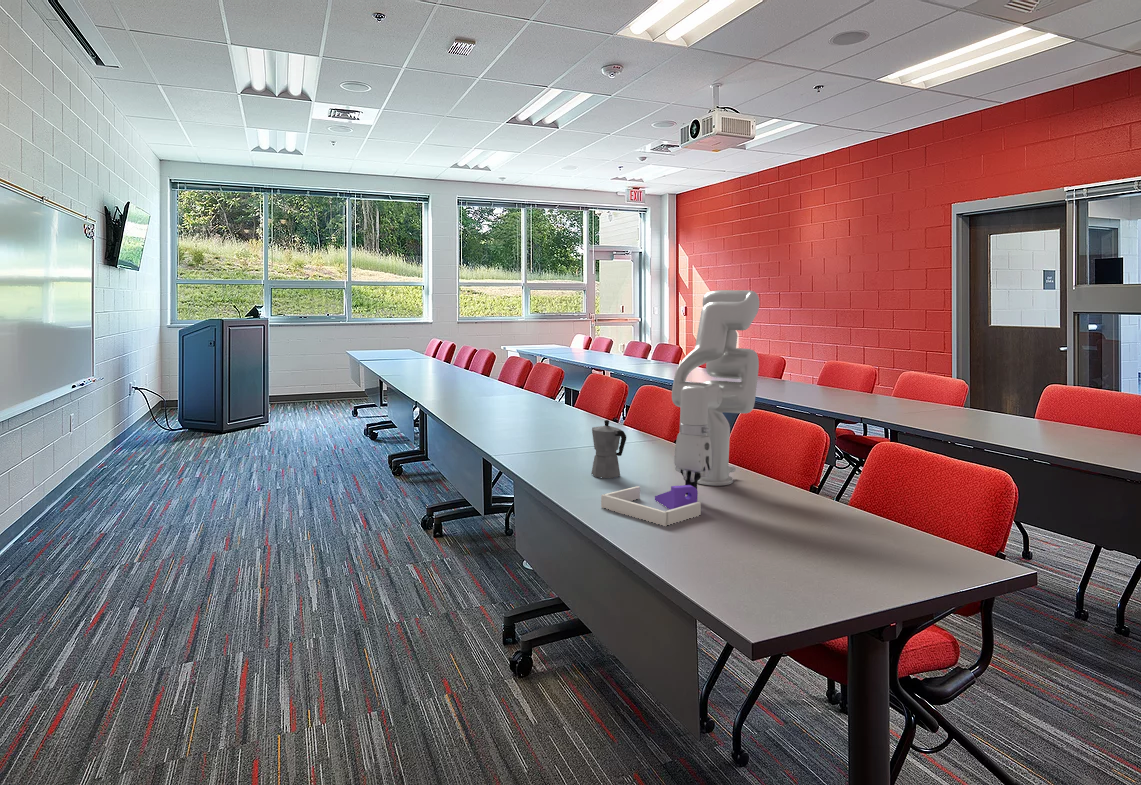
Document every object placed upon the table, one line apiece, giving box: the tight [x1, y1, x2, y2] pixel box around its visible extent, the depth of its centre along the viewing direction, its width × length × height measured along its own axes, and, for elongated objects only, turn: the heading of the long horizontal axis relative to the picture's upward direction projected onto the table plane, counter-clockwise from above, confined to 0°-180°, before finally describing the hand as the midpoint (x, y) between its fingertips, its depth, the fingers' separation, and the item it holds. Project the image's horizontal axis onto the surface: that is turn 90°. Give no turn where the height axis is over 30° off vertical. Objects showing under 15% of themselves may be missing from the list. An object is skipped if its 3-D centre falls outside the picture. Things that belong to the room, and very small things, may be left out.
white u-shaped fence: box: [600, 485, 702, 527], centre depth 186 cm, size 14×22×4 cm, turn 43°
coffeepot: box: [591, 419, 627, 479], centre depth 224 cm, size 15×9×18 cm, turn 39°
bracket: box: [654, 484, 699, 510], centre depth 192 cm, size 12×7×7 cm, turn 18°
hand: (690, 494), depth 197 cm, fingers closed
